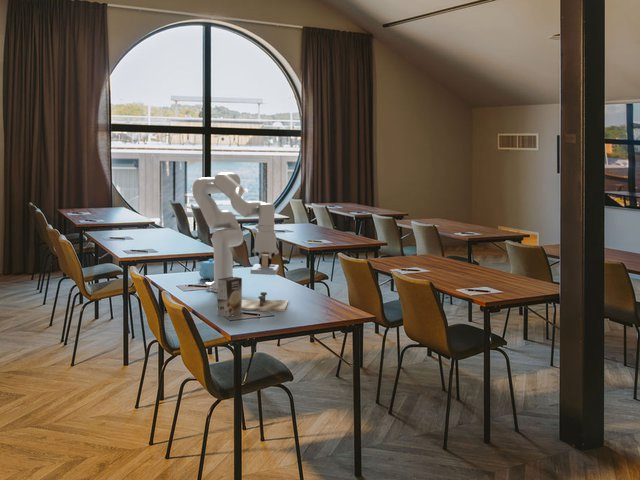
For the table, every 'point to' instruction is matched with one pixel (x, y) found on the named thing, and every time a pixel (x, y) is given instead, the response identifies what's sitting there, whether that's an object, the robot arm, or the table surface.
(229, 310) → the coffee box
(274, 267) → the panel
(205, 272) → the teapot
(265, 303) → the board
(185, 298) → the table surface
